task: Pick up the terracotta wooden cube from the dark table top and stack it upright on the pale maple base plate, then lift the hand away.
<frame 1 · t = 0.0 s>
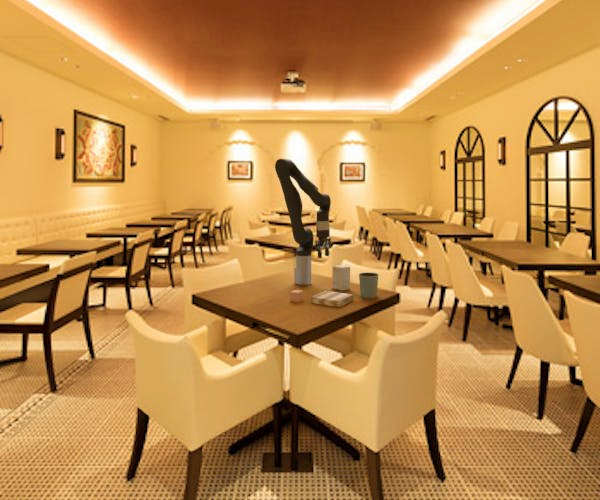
hand: (323, 257, 268), 17 cm above the table, tool pointing down, fingers open, 8 cm apart
grey cylindrical piece: (368, 296, 247), on the table
small box: (341, 289, 264), on the table
maple base: (332, 301, 236), on the table
terracotta cube: (297, 300, 237), on the table
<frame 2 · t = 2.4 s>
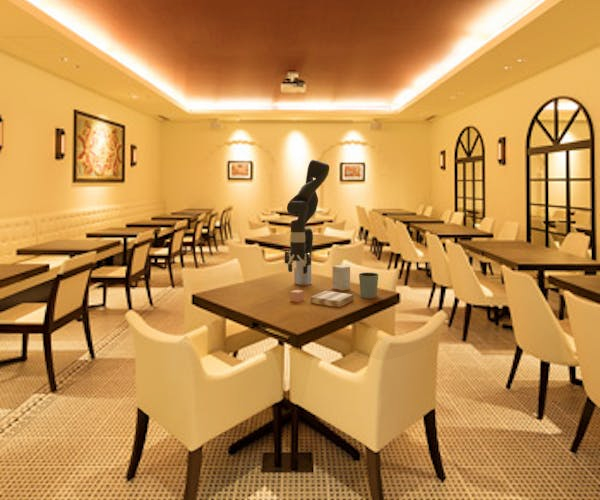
hand: (297, 272, 235), 14 cm above the table, tool pointing down, fingers open, 8 cm apart
nothing on the table moved.
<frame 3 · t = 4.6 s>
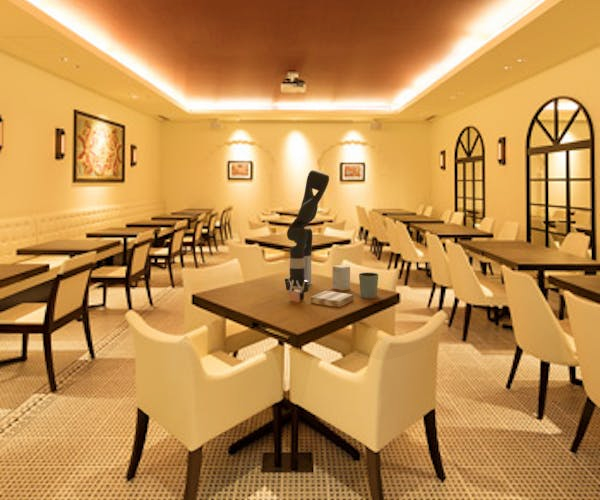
hand: (296, 299, 237), 1 cm above the table, tool pointing down, fingers closed on terracotta cube, 5 cm apart
terracotta cube: (296, 300, 237), on the table, touching gripper
everything else where it was.
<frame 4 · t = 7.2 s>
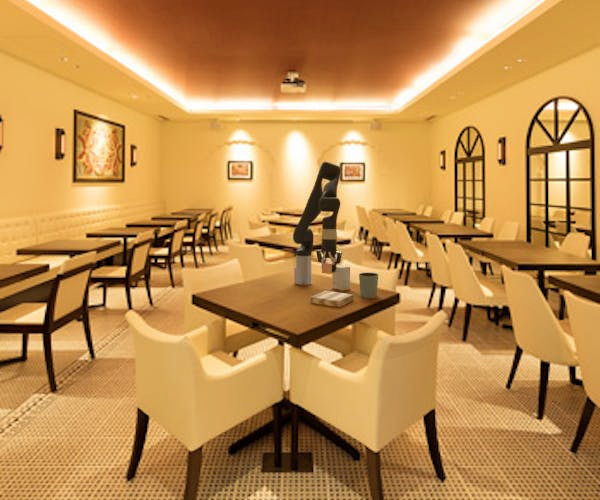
hand: (328, 271, 233), 16 cm above the table, tool pointing down, fingers closed on terracotta cube, 5 cm apart
terracotta cube: (328, 272, 233), point 15 cm above the table, touching gripper
everything else where it was.
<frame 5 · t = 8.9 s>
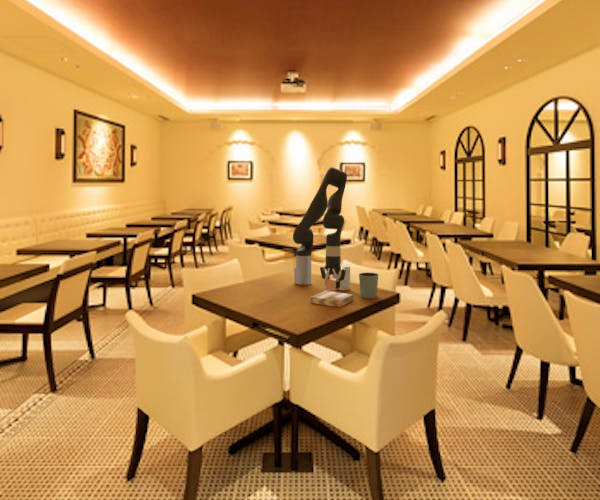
hand: (332, 287, 235), 7 cm above the table, tool pointing down, fingers closed on terracotta cube, 5 cm apart
terracotta cube: (332, 289, 235), point 6 cm above the table, touching gripper
everything else where it was.
when the fingers open (5 cm above the table, at t = 10.2 s): terracotta cube drops 1 cm, resting on maple base.
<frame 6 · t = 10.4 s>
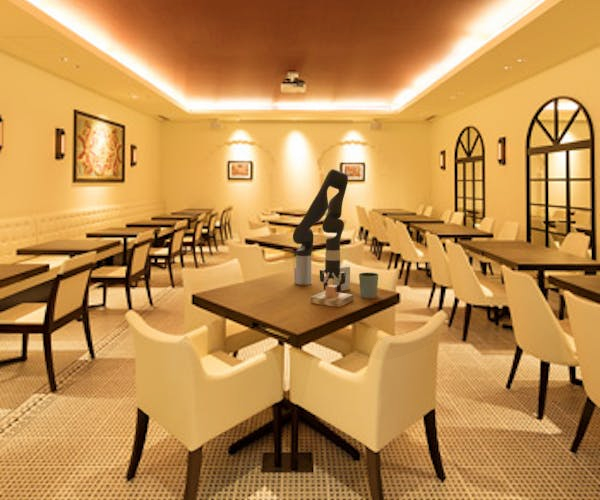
hand: (332, 291, 235), 5 cm above the table, tool pointing down, fingers open, 6 cm apart
terracotta cube: (332, 295, 235), point 3 cm above the table, touching maple base
everything else where it was.
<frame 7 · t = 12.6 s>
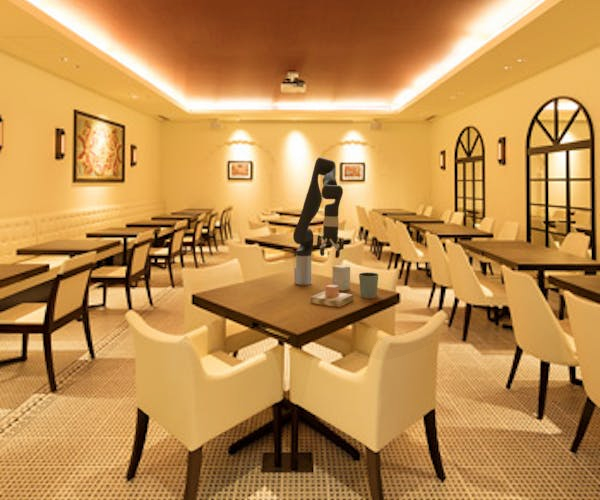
hand: (329, 256, 237), 22 cm above the table, tool pointing down, fingers open, 8 cm apart
nothing on the table moved.
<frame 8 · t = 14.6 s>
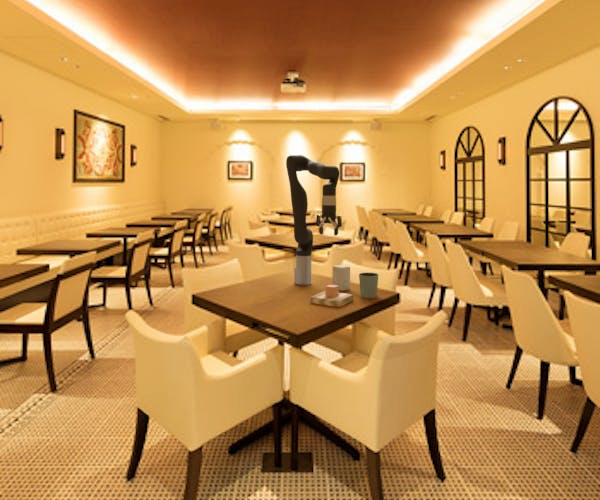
hand: (328, 234, 248), 32 cm above the table, tool pointing down, fingers open, 8 cm apart
nothing on the table moved.
at the end: terracotta cube inside the target area on the maple base (0.1 cm from its centre), point 3.0 cm above the maple base's base; terracotta cube tilted 0°; the gripper is holding nothing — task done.
